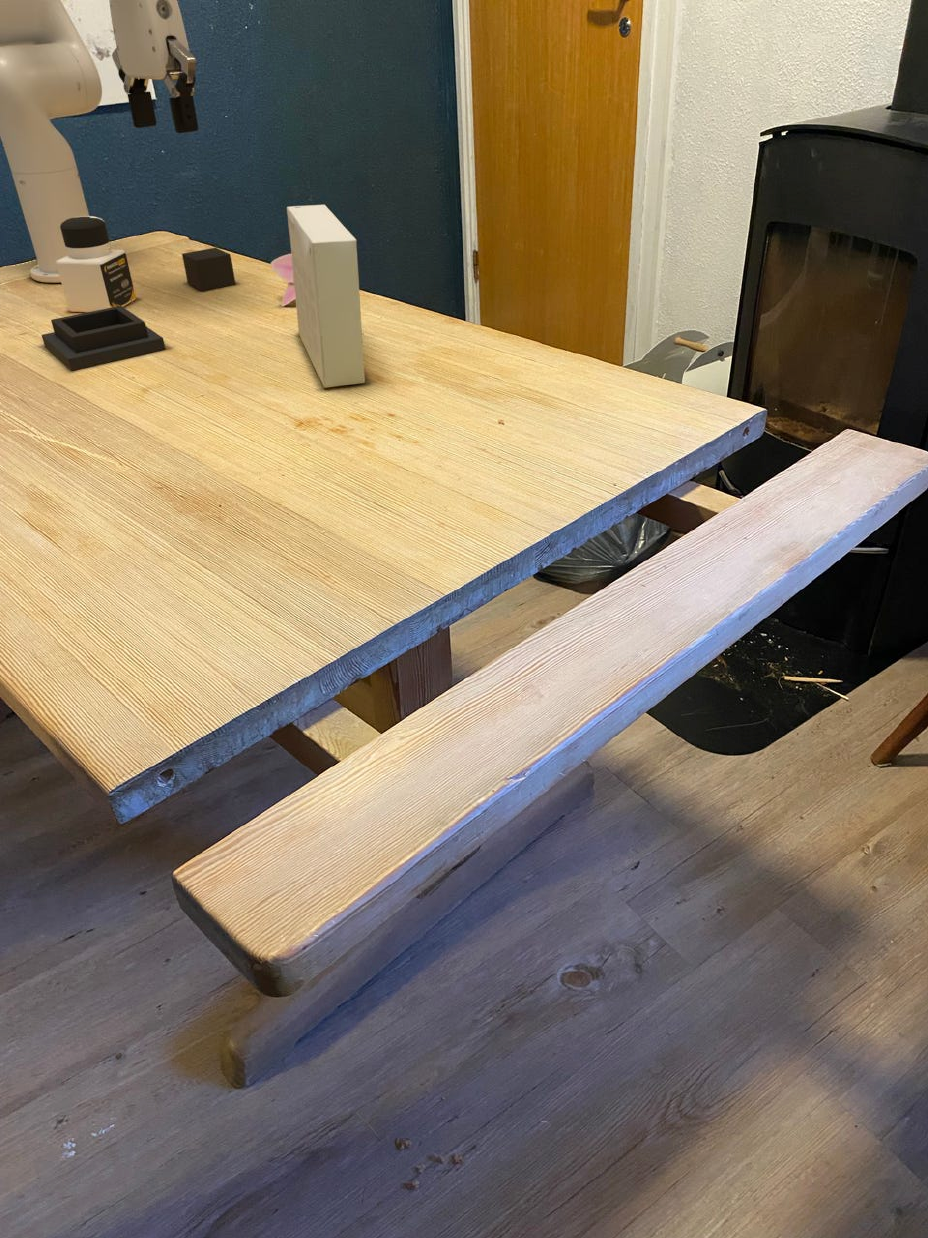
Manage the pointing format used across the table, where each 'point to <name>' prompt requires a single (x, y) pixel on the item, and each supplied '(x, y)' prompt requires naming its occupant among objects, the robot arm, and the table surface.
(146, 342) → the base pad
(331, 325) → the skincare box
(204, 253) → the black block
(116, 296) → the medicine bottle
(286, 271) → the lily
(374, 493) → the table surface
